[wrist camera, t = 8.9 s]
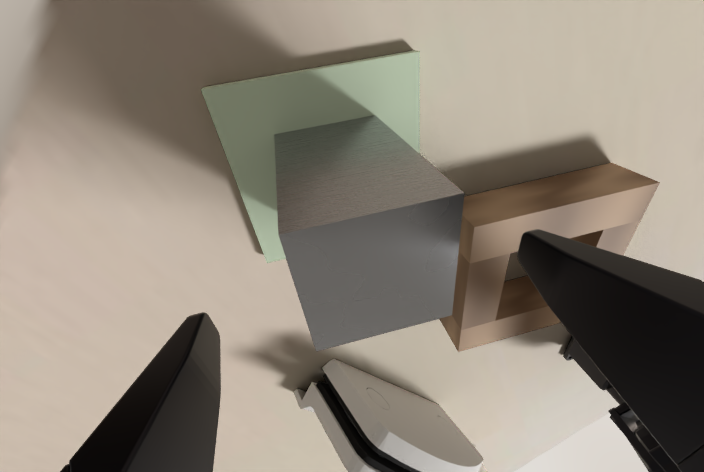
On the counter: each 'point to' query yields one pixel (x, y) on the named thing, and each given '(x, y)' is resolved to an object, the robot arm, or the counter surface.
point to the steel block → (365, 230)
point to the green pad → (306, 120)
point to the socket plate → (525, 215)
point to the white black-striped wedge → (385, 425)
